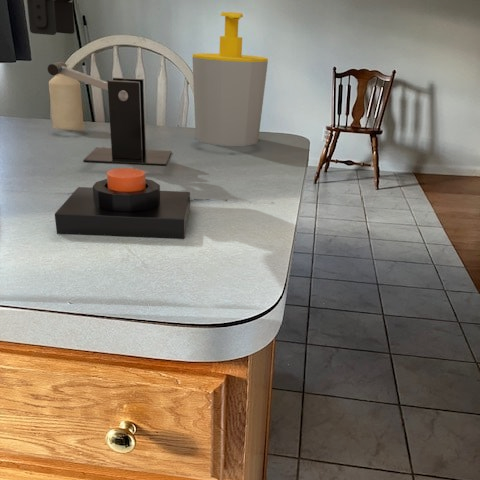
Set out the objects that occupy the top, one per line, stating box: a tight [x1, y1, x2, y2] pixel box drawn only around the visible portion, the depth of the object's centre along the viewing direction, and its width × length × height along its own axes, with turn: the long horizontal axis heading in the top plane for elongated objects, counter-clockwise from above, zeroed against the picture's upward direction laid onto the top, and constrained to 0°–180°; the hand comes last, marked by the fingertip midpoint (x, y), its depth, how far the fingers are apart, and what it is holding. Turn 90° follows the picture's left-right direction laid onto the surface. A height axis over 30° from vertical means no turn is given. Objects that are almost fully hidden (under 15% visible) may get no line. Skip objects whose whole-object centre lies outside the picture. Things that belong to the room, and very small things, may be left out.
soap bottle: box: [191, 11, 269, 147], centre depth 95 cm, size 13×13×21 cm
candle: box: [48, 74, 85, 131], centre depth 100 cm, size 6×6×10 cm
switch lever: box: [47, 61, 108, 92], centre depth 78 cm, size 12×5×2 cm, turn 91°
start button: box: [106, 167, 146, 192], centre depth 58 cm, size 4×4×2 cm
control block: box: [54, 178, 191, 240], centre depth 59 cm, size 13×10×4 cm
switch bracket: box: [82, 77, 172, 167], centre depth 81 cm, size 12×9×12 cm
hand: (53, 33), depth 75 cm, fingers open, 9 cm apart
